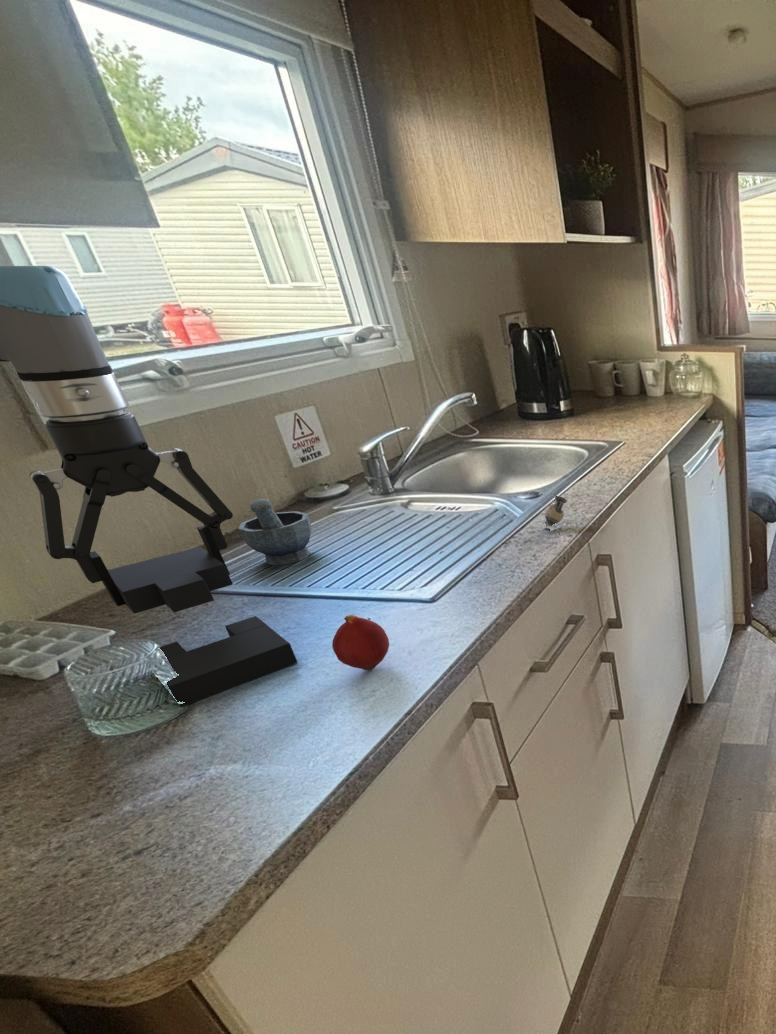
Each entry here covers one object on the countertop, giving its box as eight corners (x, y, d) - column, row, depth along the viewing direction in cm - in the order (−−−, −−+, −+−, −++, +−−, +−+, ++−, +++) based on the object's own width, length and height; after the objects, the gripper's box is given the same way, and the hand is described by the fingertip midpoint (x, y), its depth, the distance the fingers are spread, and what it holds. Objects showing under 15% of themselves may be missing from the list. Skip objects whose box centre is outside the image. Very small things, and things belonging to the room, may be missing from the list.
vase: (565, 520, 132) (560, 491, 129) (577, 527, 128) (572, 498, 126) (539, 526, 129) (533, 497, 126) (550, 534, 125) (545, 504, 122)
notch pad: (152, 672, 83) (141, 652, 81) (263, 634, 91) (255, 615, 90) (180, 707, 76) (169, 686, 75) (297, 662, 85) (289, 643, 84)
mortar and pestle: (259, 553, 116) (232, 488, 111) (321, 543, 121) (299, 480, 115) (250, 577, 108) (220, 507, 102) (318, 565, 112) (293, 498, 106)
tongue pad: (114, 592, 85) (102, 571, 84) (209, 566, 92) (199, 546, 91) (142, 622, 78) (129, 600, 77) (242, 591, 85) (233, 571, 84)
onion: (362, 656, 86) (343, 602, 83) (405, 657, 86) (388, 603, 83) (333, 681, 81) (311, 625, 78) (378, 682, 81) (358, 626, 78)
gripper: (-58, 438, 66) (59, 630, 76) (218, 403, 82) (284, 565, 92) (-66, 428, 70) (46, 612, 80) (199, 396, 86) (264, 552, 96)
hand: (173, 587), depth 86 cm, fingers closed on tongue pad, 10 cm apart
